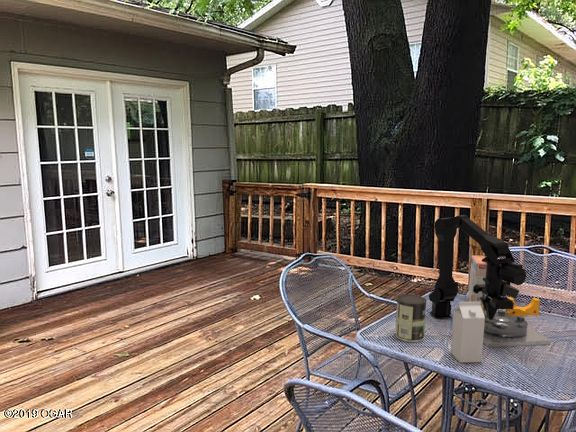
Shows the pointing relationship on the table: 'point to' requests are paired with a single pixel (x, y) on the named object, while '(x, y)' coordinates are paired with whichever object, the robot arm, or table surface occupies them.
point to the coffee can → (410, 318)
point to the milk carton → (468, 332)
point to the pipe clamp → (525, 308)
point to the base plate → (515, 339)
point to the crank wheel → (505, 324)
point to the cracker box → (476, 277)
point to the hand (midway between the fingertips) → (490, 319)
